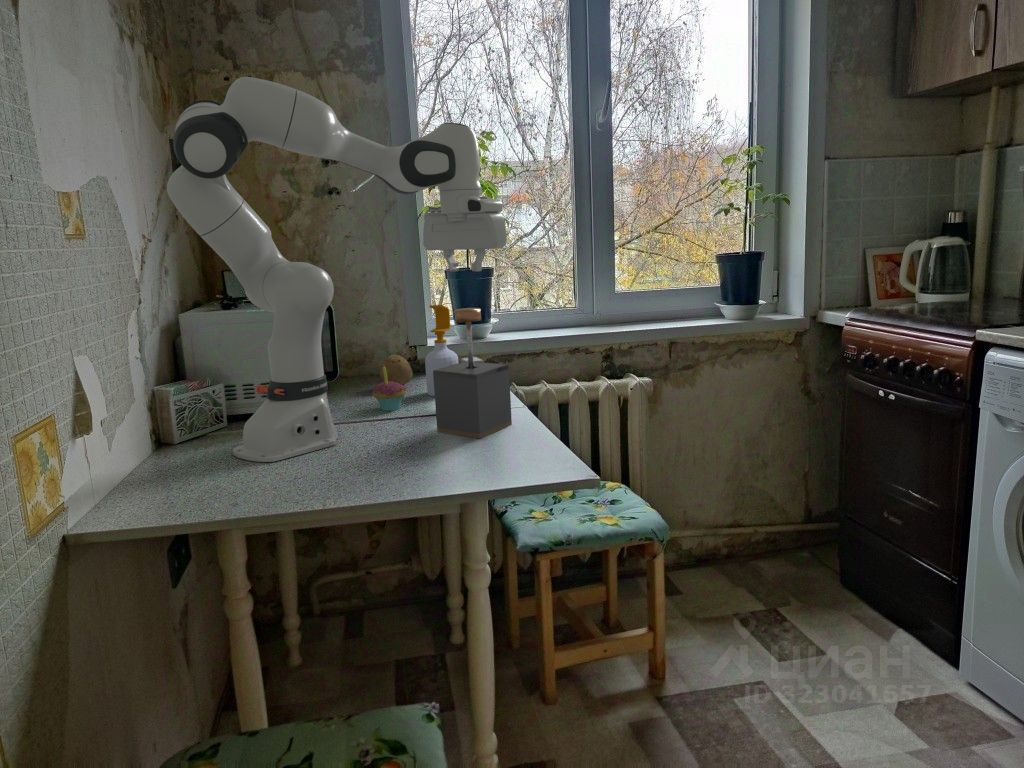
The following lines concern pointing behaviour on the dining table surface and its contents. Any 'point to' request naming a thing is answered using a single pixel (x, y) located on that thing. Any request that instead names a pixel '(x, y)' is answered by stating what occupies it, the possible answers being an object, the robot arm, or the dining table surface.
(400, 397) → the cupcake
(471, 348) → the plunger
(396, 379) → the natural sponge
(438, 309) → the soap bottle
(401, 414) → the dining table surface
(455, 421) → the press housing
